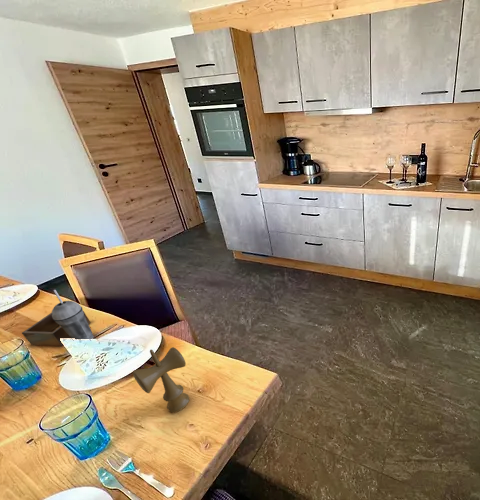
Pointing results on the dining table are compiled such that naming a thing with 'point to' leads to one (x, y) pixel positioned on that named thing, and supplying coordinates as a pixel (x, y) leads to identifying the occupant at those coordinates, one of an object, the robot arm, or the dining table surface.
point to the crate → (46, 332)
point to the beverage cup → (71, 319)
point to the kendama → (164, 379)
